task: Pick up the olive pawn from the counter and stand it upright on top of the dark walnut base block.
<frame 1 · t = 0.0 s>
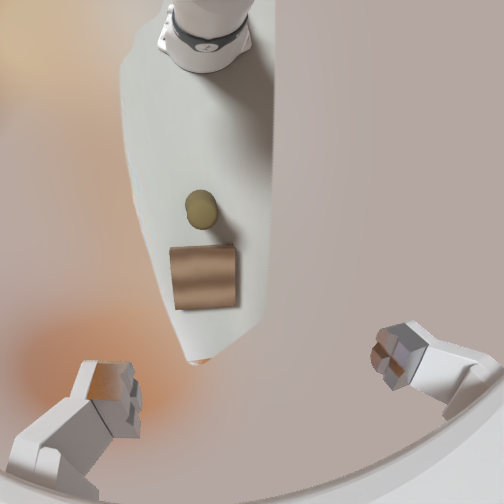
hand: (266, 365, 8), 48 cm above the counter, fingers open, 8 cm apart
walnut base: (202, 274, 58), on the counter
olive pawn: (200, 204, 53), on the counter
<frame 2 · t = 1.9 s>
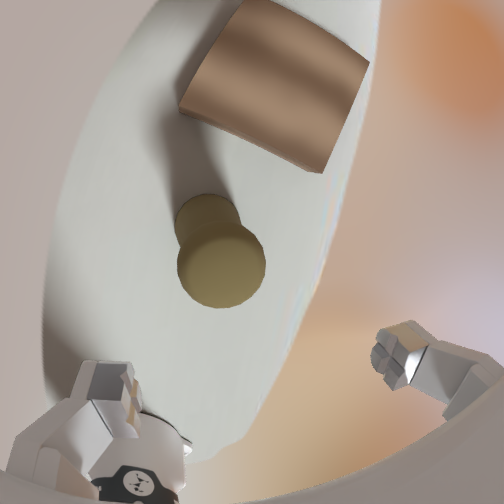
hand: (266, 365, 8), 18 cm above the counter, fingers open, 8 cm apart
walnut base: (276, 81, 21), on the counter
olive pawn: (207, 226, 25), on the counter
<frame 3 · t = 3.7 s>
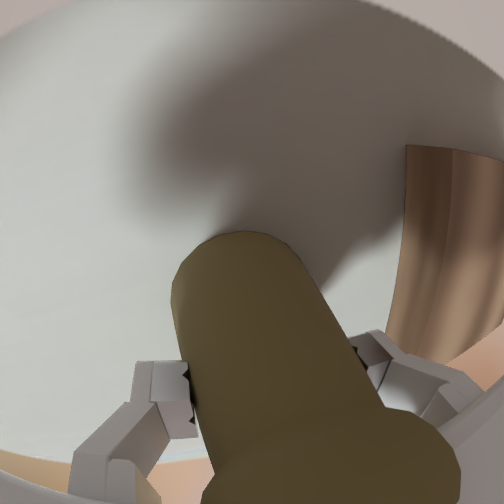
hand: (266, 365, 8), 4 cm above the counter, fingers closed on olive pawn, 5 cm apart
walnut base: (461, 252, 14), on the counter
olive pawn: (240, 297, 12), on the counter, touching gripper
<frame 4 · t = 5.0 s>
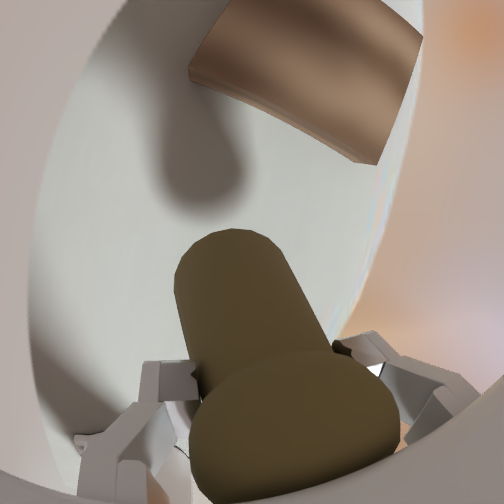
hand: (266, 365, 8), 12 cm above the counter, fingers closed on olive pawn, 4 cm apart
walnut base: (314, 48, 15), on the counter
olive pawn: (232, 284, 14), point 6 cm above the counter, touching gripper
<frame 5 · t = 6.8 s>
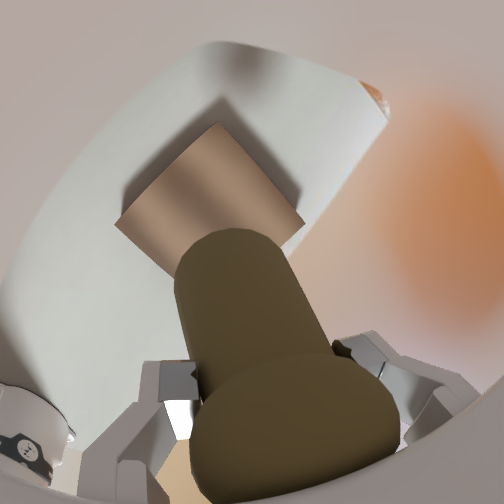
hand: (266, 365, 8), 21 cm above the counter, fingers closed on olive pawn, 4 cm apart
walnut base: (209, 215, 27), on the counter
olive pawn: (232, 284, 14), point 15 cm above the counter, touching gripper
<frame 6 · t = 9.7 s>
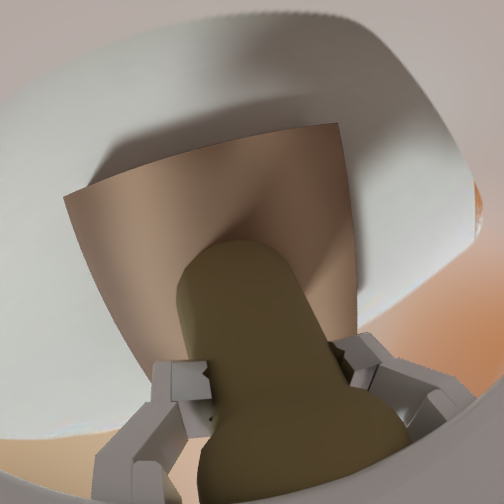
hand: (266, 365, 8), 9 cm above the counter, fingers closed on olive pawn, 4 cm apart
walnut base: (227, 262, 16), on the counter
olive pawn: (237, 297, 13), point 3 cm above the counter, touching gripper, walnut base
when the fingers open (9 cm above the counter, at t = 10.0 s): olive pawn stays where it is, resting on walnut base.
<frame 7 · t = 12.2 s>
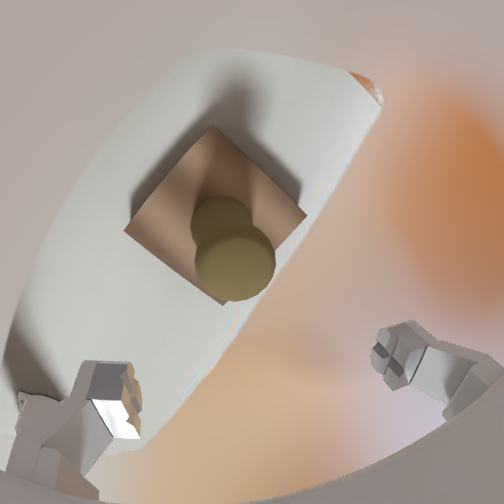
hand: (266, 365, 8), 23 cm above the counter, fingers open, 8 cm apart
walnut base: (214, 215, 29), on the counter
olive pawn: (221, 226, 26), point 3 cm above the counter, touching walnut base
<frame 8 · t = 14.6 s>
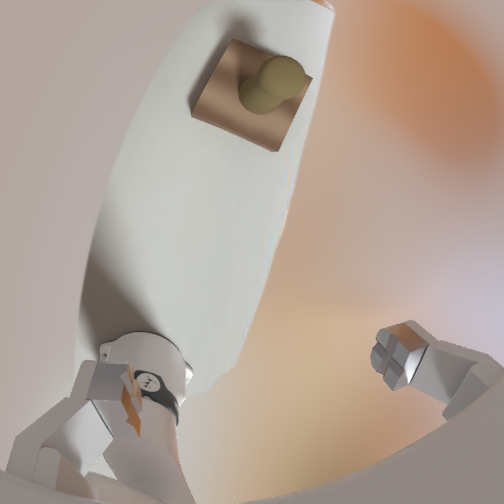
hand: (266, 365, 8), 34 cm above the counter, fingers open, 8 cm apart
walnut base: (250, 96, 35), on the counter
olive pawn: (259, 94, 33), point 3 cm above the counter, touching walnut base
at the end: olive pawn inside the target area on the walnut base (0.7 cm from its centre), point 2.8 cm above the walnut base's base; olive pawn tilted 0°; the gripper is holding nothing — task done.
